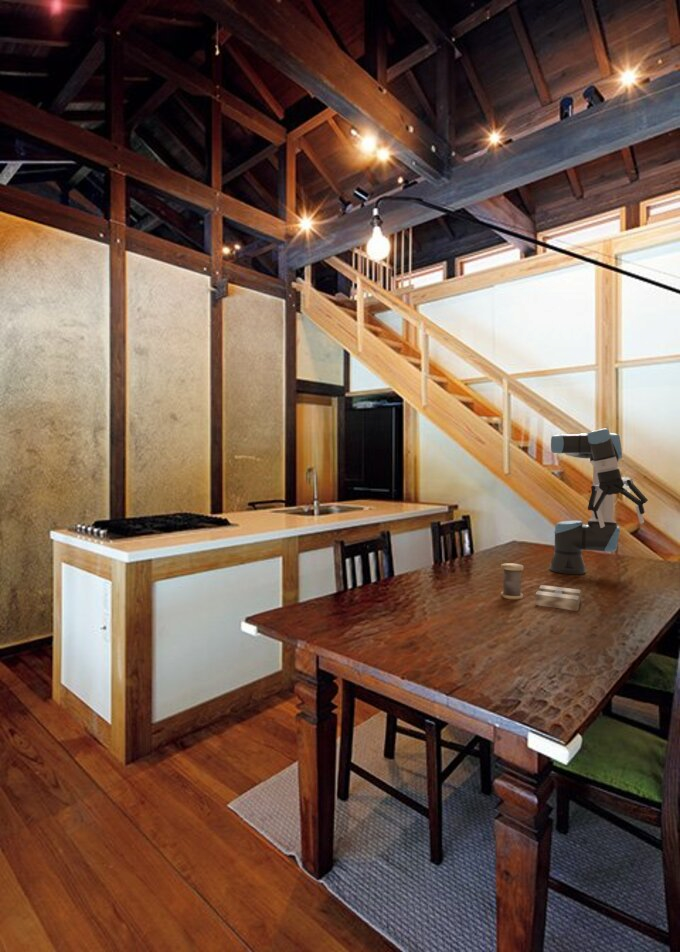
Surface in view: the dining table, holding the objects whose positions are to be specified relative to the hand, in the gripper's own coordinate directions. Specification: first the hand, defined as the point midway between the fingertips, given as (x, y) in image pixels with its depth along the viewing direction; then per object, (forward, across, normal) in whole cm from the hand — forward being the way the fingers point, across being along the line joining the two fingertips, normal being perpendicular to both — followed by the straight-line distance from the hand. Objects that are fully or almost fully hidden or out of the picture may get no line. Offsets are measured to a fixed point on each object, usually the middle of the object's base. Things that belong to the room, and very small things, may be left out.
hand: (621, 525), depth 186 cm
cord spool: (+18, -36, -27) cm, 49 cm away
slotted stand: (+22, -21, -23) cm, 38 cm away
